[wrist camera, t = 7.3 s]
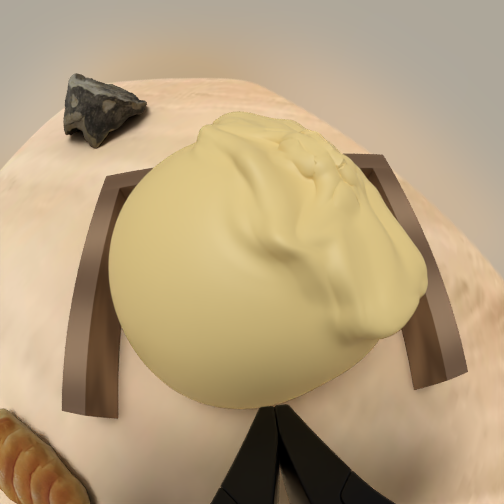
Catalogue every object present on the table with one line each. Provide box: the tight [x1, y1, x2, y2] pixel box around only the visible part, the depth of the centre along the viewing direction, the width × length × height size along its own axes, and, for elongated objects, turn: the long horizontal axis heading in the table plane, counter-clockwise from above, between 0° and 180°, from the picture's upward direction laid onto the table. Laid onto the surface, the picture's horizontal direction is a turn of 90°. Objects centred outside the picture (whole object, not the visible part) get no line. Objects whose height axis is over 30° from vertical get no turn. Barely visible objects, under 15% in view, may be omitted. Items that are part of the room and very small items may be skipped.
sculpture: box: [109, 112, 428, 409], centre depth 12 cm, size 11×12×11 cm
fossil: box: [64, 74, 147, 148], centre depth 26 cm, size 11×9×10 cm
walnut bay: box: [62, 154, 468, 418], centre depth 15 cm, size 16×20×4 cm
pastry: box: [0, 409, 90, 504], centre depth 8 cm, size 9×7×4 cm
